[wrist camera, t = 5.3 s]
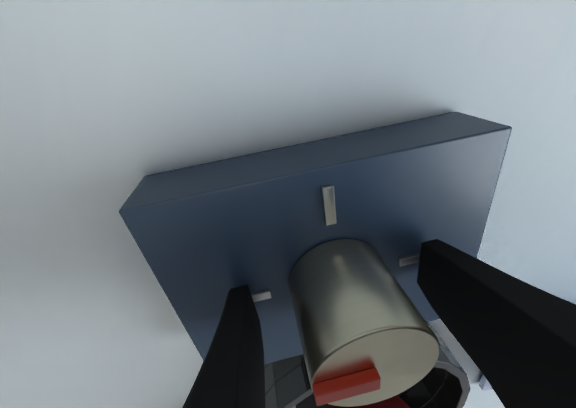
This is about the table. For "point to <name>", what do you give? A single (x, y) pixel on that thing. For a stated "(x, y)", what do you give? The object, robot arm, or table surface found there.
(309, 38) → the table surface
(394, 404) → the red pomegranate
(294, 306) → the knob
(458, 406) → the skillet
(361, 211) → the blue control panel
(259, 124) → the table surface
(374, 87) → the table surface
